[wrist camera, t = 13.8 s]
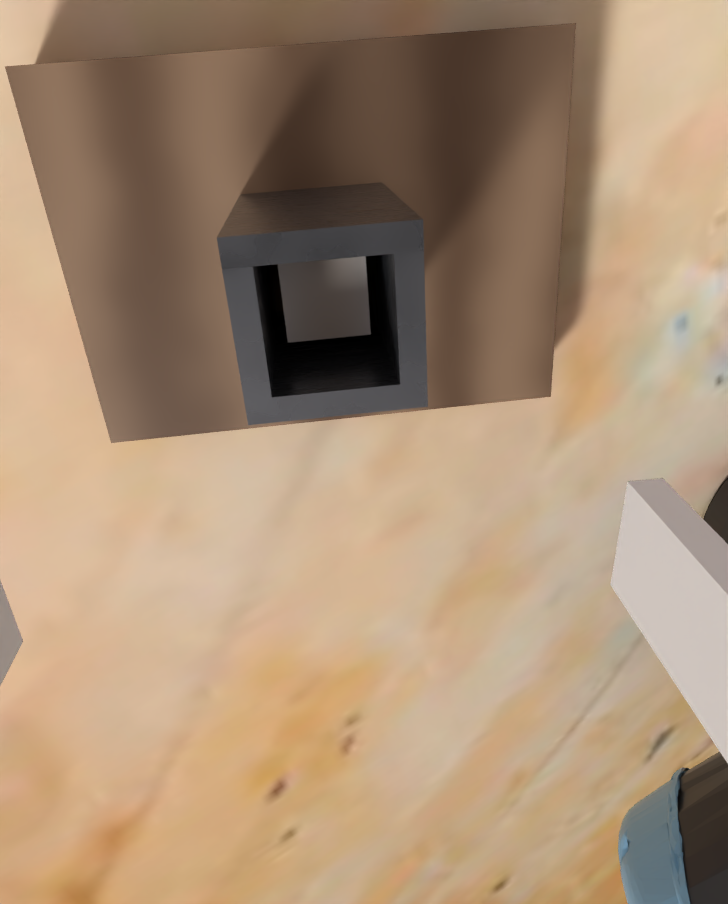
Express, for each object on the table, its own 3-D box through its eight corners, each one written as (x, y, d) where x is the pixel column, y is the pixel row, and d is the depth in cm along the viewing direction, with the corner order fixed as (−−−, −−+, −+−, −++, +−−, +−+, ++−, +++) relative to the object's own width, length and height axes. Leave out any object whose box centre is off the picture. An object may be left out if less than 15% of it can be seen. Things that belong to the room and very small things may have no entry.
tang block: (549, 30, 29) (663, -1, 20) (531, 375, 36) (608, 462, 28) (32, 69, 28) (-89, 55, 19) (124, 417, 35) (69, 522, 26)
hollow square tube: (381, 182, 28) (423, 219, 19) (389, 319, 31) (427, 406, 22) (240, 194, 28) (216, 237, 19) (260, 332, 31) (248, 425, 22)
